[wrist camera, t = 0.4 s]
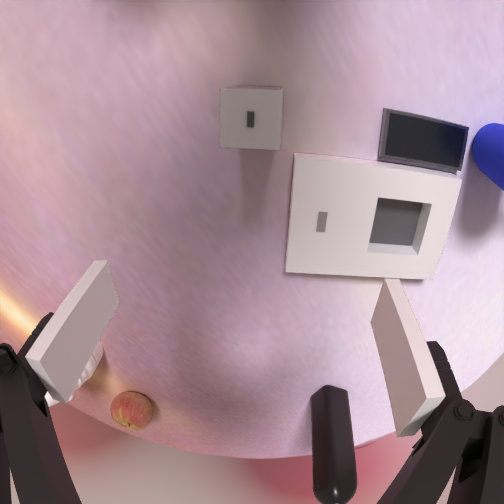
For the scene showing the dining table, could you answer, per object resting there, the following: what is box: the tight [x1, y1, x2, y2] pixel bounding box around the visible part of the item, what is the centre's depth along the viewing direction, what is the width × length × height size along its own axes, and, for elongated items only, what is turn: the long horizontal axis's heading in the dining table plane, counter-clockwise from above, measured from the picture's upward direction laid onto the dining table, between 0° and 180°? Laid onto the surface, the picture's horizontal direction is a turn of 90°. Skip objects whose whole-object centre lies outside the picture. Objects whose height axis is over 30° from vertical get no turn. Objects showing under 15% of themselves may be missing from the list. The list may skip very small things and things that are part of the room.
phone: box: [378, 108, 469, 171], centre depth 31 cm, size 6×11×1 cm, turn 88°
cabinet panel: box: [286, 153, 462, 280], centre depth 36 cm, size 14×20×3 cm
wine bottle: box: [311, 385, 357, 504], centre depth 43 cm, size 6×6×30 cm
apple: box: [111, 391, 153, 431], centre depth 59 cm, size 9×9×8 cm
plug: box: [220, 86, 283, 150], centre depth 27 cm, size 5×5×11 cm
